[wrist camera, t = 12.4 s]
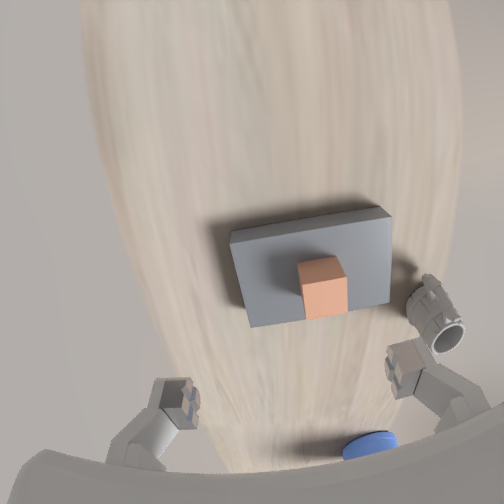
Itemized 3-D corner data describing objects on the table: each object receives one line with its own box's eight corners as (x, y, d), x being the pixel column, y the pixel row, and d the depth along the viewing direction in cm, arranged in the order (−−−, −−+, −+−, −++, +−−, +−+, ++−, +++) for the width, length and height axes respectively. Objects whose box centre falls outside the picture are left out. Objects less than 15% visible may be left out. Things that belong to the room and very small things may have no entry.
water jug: (353, 460, 72) (366, 537, 46) (333, 446, 66) (346, 537, 41) (400, 440, 67) (422, 518, 42) (386, 423, 62) (411, 516, 37)
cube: (296, 262, 37) (302, 285, 32) (336, 256, 36) (346, 276, 32) (301, 296, 39) (306, 320, 35) (338, 289, 39) (347, 312, 34)
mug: (405, 326, 47) (431, 375, 36) (398, 272, 42) (433, 320, 31) (441, 310, 45) (472, 354, 35) (439, 255, 41) (480, 297, 30)
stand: (231, 231, 39) (229, 244, 36) (380, 206, 38) (391, 216, 34) (251, 310, 45) (250, 327, 41) (380, 287, 43) (389, 302, 40)
